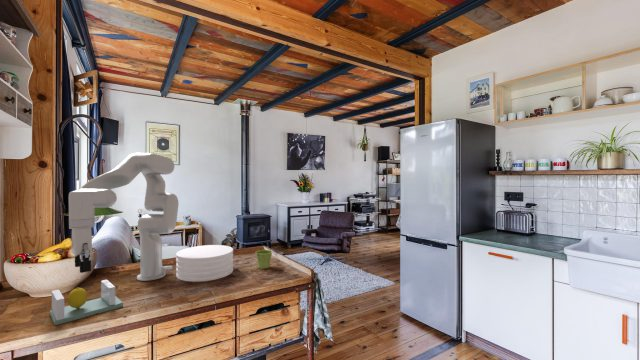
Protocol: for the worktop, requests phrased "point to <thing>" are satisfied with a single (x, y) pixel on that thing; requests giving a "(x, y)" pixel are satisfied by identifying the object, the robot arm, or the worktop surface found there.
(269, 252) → the plant pot
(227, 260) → the plate stack
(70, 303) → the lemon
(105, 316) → the worktop surface
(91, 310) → the vise base
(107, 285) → the vise jaw
